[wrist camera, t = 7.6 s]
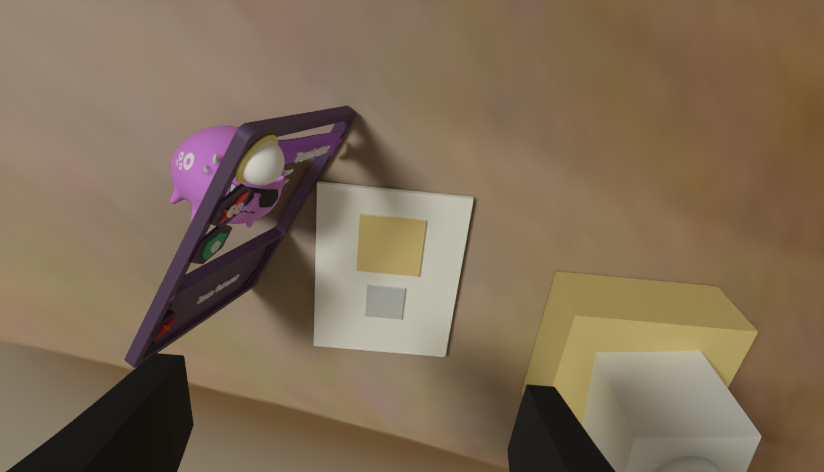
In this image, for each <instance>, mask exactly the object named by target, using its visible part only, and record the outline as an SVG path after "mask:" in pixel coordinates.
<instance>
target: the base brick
mask: <svg viewBox="0 0 824 472" xmlns="http://www.w3.org/2000/svg"><path fill="white" fill-rule="evenodd" d="M757 333H758V331H757V330H756V329H755V328H754V327H753V325H752V324H751V323H750V322H749V321H748V320H747V319H746V318H745V317H744V315H743V314H742V313H741V312H740V311H739V310H738V309H737V308H736V307H735V305H734V304H733V303H732V302H731V301H730V300H729V299H728V298H727V297H726V295H725V294H724V293H723V292H722V291H721V290H720V289H719V288H718V286H707V285H696V284H686V283H675V282H665V281H654V280H643V279H633V278H622V277H612V276H601V275H590V274H580V273H569V272H558V271H556V273H555V276H554V280H553V283H552V287H551V290H550V294H549V297H548V301H547V304H546V308H545V311H544V315H543V318H542V322H541V325H540V329H539V332H538V336H537V339H536V343H535V346H534V350H533V353H532V357H531V360H530V364H529V367H528V371H527V374H526V378H525V381H524V385H523V388H522V392H521V393H522V398H523V394H524V391H525V387H526V384H529V385H541V386H553V387H555V388H556V389H557V390H558V392H559V393H560V395H561V396H562V397H563V399H564V400H565V402H566V403H567V405H568V406H569V408H570V409H571V410H572V412H573V413H574V415H575V416H576V418H577V419H578V421H579V422H580V423H581V425H582V423H583V418H584V413H585V407H586V402H587V397H588V391H589V386H590V381H591V376H592V370H593V365H594V360H595V354H596V353H597V352H660V351H701V352H702V353H703V355H704V356H705V358H706V359H707V360H708V362H709V363H710V365H711V366H712V367H713V369H714V370H715V372H716V373H717V374H718V376H719V377H720V379H721V380H722V381H723V383H724V384H725V386H726V387H727V388H728V387H729V385H730V383H731V381H732V379H733V377H734V376H735V374H736V372H737V370H738V368H739V366H740V365H741V363H742V361H743V359H744V357H745V355H746V354H747V352H748V350H749V348H750V346H751V344H752V343H753V341H754V339H755V337H756V335H757Z"/></svg>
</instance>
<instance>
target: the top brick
mask: <svg viewBox="0 0 824 472" xmlns="http://www.w3.org/2000/svg"><path fill="white" fill-rule="evenodd" d="M582 426H583V428H584V429H585V430H586V432H587V433H588V435H589V436H590V438H591V439H592V440H593V442H594V443H595V445H596V446H597V447H598V449H599V450H600V451H601V453H602V454H603V455H604V457H605V458H606V459H607V461H608V462H609V463H610V465H611V466H612V467H613V469H614V470H615V471H616V472H746V471H747V469H748V467H749V464H750V462H751V460H752V457H753V455H754V453H755V451H756V448H757V446H758V444H759V441H760V439H761V437H762V436H761V435H760V433H759V432H758V431H757V429H756V428H755V426H754V425H753V424H752V422H751V421H750V419H749V418H748V417H747V415H746V414H745V412H744V411H743V410H742V408H741V407H740V405H739V404H738V402H737V401H736V400H735V398H734V397H733V395H732V394H731V393H730V391H729V390H728V388H727V387H726V386H725V384H724V383H723V381H722V380H721V379H720V377H719V376H718V374H717V373H716V372H715V370H714V369H713V367H712V366H711V365H710V363H709V362H708V360H707V359H706V358H705V356H704V355H703V353H702V352H701V351H660V352H597V353H596V354H595V360H594V365H593V370H592V376H591V381H590V386H589V391H588V397H587V402H586V407H585V413H584V418H583V423H582Z"/></svg>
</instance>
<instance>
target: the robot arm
mask: <svg viewBox="0 0 824 472" xmlns="http://www.w3.org/2000/svg"><path fill="white" fill-rule="evenodd" d="M192 428H193V417H192V410H191V403H190V396H189V388H188V381H187V374H186V366H185V359H184V356H182V355H171V354H159V353H154V354H153V355H151V356H150V357H149V358H147V359H146V360H145V361H144V362H143V363H141V364H140V365H139V366H138V367H137V368H135V369H134V370H133V371H132V372H131V373H129V374H128V375H127V376H126V377H125V378H124V379H122V380H121V381H120V382H119V383H118V384H116V385H115V386H114V387H113V388H112V389H111V390H109V391H108V392H107V393H106V394H105V395H103V396H102V397H101V398H100V399H99V400H98V401H96V402H95V403H94V404H93V405H91V406H90V407H89V408H88V409H86V410H85V411H84V412H83V413H81V414H80V415H79V416H78V417H77V418H76V419H74V420H73V421H72V422H71V423H69V424H68V425H67V426H65V427H64V428H63V429H62V430H60V431H59V432H58V433H57V434H55V435H54V436H53V437H52V438H50V439H49V440H48V441H46V442H45V443H44V444H42V445H41V446H40V447H38V448H37V449H36V450H34V451H33V452H32V453H31V454H29V455H28V456H26V457H25V458H24V459H22V460H21V461H20V462H18V463H17V464H16V465H14V466H13V467H12V468H10V469H9V470H8V471H6V472H177V471H178V468H179V465H180V462H181V459H182V457H183V454H184V451H185V448H186V445H187V443H188V440H189V437H190V434H191V431H192ZM508 459H509V470H510V472H616V471H615V470H614V469H613V467H612V466H611V465H610V463H609V462H608V461H607V459H606V458H605V457H604V455H603V454H602V453H601V451H600V450H599V449H598V447H597V446H596V445H595V443H594V442H593V440H592V439H591V438H590V436H589V435H588V433H587V432H586V430H585V429H584V428H583V426H582V425H581V423H580V422H579V421H578V419H577V418H576V416H575V415H574V413H573V412H572V410H571V409H570V408H569V406H568V405H567V403H566V402H565V400H564V399H563V397H562V396H561V395H560V393H559V392H558V390H557V389H556V388H555V387H553V386H541V385H529V384H526V387H525V391H524V394H523V398H522V401H521V405H520V408H519V412H518V415H517V418H516V422H515V425H514V429H513V432H512V436H511V439H510V443H509V446H508Z"/></svg>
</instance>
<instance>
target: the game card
mask: <svg viewBox="0 0 824 472" xmlns="http://www.w3.org/2000/svg"><path fill="white" fill-rule="evenodd" d="M355 115H356V112H355V111H354V110H352V109H351V108H350V107H348V106H343V107H337V108H331V109H325V110H319V111H314V112H308V113H302V114H296V115H290V116H284V117H278V118H273V119H267V120H261V121H255V122H249V123H245V124H243V125H241V126H240V127H239V128H238V127H232V126H217V127H211V128H207V129H204V130H201V131H199V132H197V133H195V134H193V135H191V136H190V137H189V138H187V139H186V140H185V141H184V142H183V143H182V144H181V145H180V146H179V147H178V149H177V150H176V152H175V154H174V156H173V159H172V162H171V177H172V181H173V184H174V192H173V195H172V198H171V201H170V202H171V203H172V204H175V203H177V202H179V201H181V200H184V199H185V200H187V201H189V202H190V203H192V205H193V209H192V216H191V224H190V226H189V228H188V230H187V232H186V234H185V236H184V238H183V240H182V242H181V244H180V247H179V249H178V251H177V253H176V255H175V257H174V259H173V261H172V263H171V265H170V267H169V269H168V271H167V273H166V275H165V277H164V279H163V281H162V283H161V285H160V287H159V290H158V292H157V294H156V296H155V298H154V300H153V302H152V304H151V306H150V308H149V310H148V312H147V314H146V316H145V318H144V320H143V322H142V324H141V326H140V328H139V330H138V333H137V335H136V337H135V339H134V341H133V343H132V345H131V347H130V349H129V351H128V353H127V355H126V357H125V361H126V362H127V363H129V364H130V365H131V366H132V367H134V368H136V367H138V366H139V365H140V364H141V363H143V362H144V361H145V360H146V359H147V358H149V357H150V356H151V355H153V354H154V353H158V352H159V351H161V350H162V349H164V348H165V347H167V346H168V345H170V344H171V343H173V342H174V341H176V340H177V339H178V338H180V337H181V336H183V335H184V334H186V333H187V332H189V331H190V330H192V329H193V328H195V327H196V326H197V325H199V324H200V323H202V322H203V321H205V320H206V319H208V318H209V317H211V316H212V315H213V314H215V313H216V312H218V311H219V310H221V309H222V308H224V307H225V306H227V305H228V304H230V303H231V302H232V301H234V300H235V299H237V298H238V297H240V296H241V295H243V294H244V293H246V292H247V291H249V290H250V289H251V288H252V287H253V286H254V285H255V284H256V282H257V281H258V279H259V277H260V276H261V274H262V272H263V271H264V269H265V267H266V265H267V264H268V262H269V260H270V259H271V257H272V255H273V254H274V252H275V250H276V249H277V247H278V245H279V244H280V242H281V240H282V239H283V237H284V235H285V234H286V232H287V230H288V228H289V227H290V225H291V223H292V222H293V220H294V218H295V217H296V215H297V213H298V212H299V210H300V208H301V207H302V205H303V203H304V202H305V200H306V198H307V197H308V195H309V193H310V191H311V190H312V188H313V186H314V185H315V183H316V181H317V180H318V178H319V176H320V175H321V173H322V171H323V170H324V168H325V166H326V165H327V163H328V161H329V159H330V158H331V156H333V155H334V151H335V149H336V148H337V146H338V144H340V143H341V142H342V141H343V140H344V139H342V138H343V136H344V134H345V133H346V131H347V129H348V128H349V126H350V124H351V122H352V121H353V119H354V117H355ZM334 123H335V125H334V127H333V129H332V130H331V132H330V133H325V134H317V135H311V136H307V137H302V138H296V139H288V140H278V138H277V137H279V136H283V135H287V134H291V133H296V132H300V131H304V130H308V129H313V128H317V127H321V126H325V125H330V124H334ZM313 157H316V158H315V160H314V161H313V163H312V165H311V167H310V168H309V170H308V172H307V174H306V175H305V177H304V179H303V180H302V182H301V184H300V186H299V187H298V189H297V191H296V192H295V194H294V196H293V198H292V199H291V201H290V203H289V205H288V206H287V208H286V210H285V211H284V213H283V215H282V217H281V218H280V220H279V222H278V224H277V225H276V226H275V227H274V228H272V229H270V230H268V231H267V232H265V233H263V234H261V235H259V236H257V237H255V238H253V239H252V240H250V241H248V242H246V243H244V244H242V245H240V246H238V247H237V248H235V249H233V250H231V251H229V252H227V253H225V254H223V255H222V256H220V257H218V258H216V259H214V260H212V261H210V262H208V263H207V264H205V265H203V266H201V267H199V268H197V269H195V270H193V271H192V272H190V273H188V274H186V272H187V270H188V268H189V266H190V264H191V262H192V263H198V264H204V263H205V262H206V261H207V260H208V259H209V258H211V257H212V256H213V255H214V254H215V253H216V252H217V251H219V250H220V249H221V248H222V247H223V245H224V243H225V241H226V239H227V237H228V235H229V234H230V232H231V230H232V227H230V226H228V225H226V224H227V223H230V224H240V223H246V225H247V227H251V226H252V224H253V222H254V220H257V219H259V218H261V217H263V216H264V215H266V214H267V213H268V212H270V211H271V210H272V209H273V208H274V207H275V205H276V204H277V202H278V200H279V198H280V195H281V191H282V187H283V186H284V185H285V184H286V183H287V182H288V181H289V179H287V180H285V179H284V177H285V176H287V175H289V174H290V173H291V172H292V171H293V170H294V169H292V170H284V166H285V164H289V163H293V162H295V163H297V162H298V161H299V162H302V161H304V160H306V159H309V158H313ZM211 224H212V225H214V226H216V227H215V228H214V229H213V230H211V231H210V232H209V233H208V234H207V235H205V234H206V232H207V231H208V229H209V227H210V225H211ZM185 274H186V275H185Z"/></svg>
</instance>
